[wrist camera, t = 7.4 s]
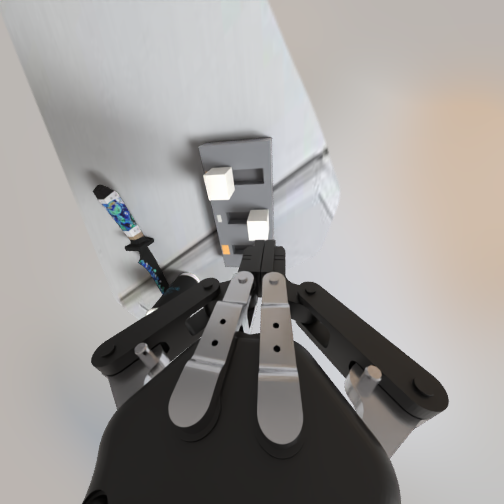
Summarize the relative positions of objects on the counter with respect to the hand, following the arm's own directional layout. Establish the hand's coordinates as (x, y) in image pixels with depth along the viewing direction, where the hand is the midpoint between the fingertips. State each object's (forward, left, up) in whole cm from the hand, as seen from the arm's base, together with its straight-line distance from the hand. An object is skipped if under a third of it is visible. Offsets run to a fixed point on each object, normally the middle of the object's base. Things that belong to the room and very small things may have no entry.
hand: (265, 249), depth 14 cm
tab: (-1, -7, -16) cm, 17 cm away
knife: (+13, -26, -18) cm, 34 cm away
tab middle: (+5, -2, -16) cm, 16 cm away
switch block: (+5, -5, -17) cm, 19 cm away
